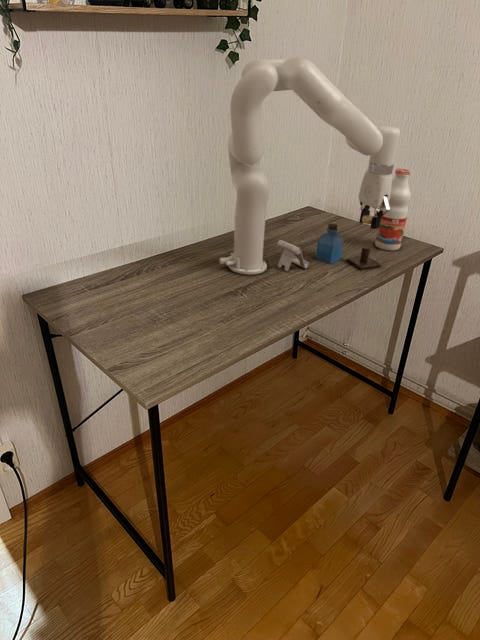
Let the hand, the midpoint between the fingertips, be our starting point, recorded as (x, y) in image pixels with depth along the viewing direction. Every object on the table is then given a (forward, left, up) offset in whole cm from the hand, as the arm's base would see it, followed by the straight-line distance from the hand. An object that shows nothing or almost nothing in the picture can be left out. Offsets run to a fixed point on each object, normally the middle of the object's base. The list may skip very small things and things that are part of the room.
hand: (369, 224), depth 161 cm
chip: (0, 0, +1) cm, 1 cm away
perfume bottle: (-9, +8, -14) cm, 18 cm away
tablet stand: (-25, +6, -14) cm, 29 cm away
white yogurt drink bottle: (+19, +11, -14) cm, 26 cm away
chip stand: (0, 0, -14) cm, 14 cm away
